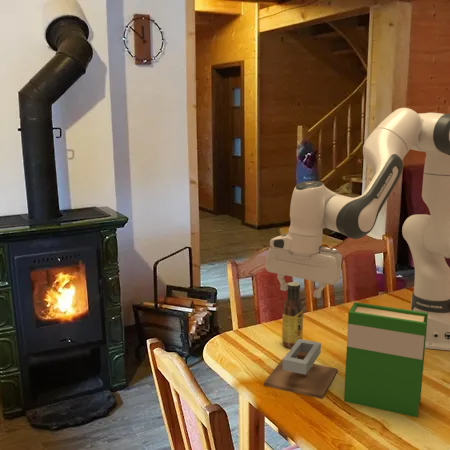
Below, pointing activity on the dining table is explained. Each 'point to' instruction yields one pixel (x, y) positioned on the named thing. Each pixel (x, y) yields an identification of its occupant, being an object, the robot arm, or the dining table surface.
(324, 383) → the post fixture
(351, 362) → the hardback book
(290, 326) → the sauce bottle
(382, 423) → the dining table surface
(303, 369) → the grey rectangular frame
